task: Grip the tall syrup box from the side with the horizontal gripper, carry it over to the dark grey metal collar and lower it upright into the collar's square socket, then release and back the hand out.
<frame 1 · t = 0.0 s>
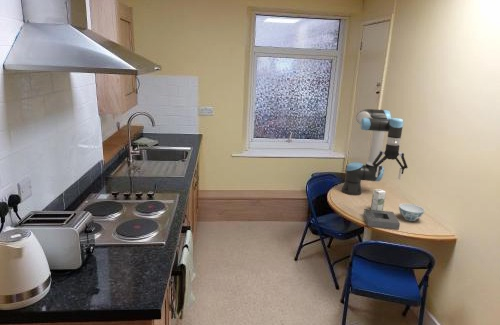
hand: (387, 177, 213), 28 cm above the table, tool pointing down, fingers open, 13 cm apart
chinaware: (409, 219, 224), on the table
syrup box: (376, 210, 235), on the table
collar: (380, 221, 217), on the table
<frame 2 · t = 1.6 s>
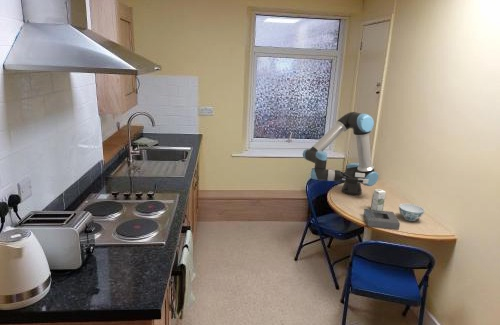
hand: (366, 178, 231), 22 cm above the table, tool horizontal, fingers open, 13 cm apart
nothing on the table moved.
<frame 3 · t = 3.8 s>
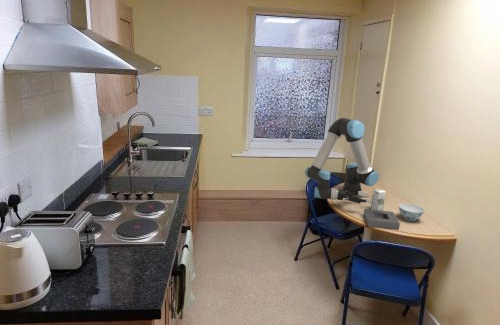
hand: (369, 197, 233), 9 cm above the table, tool horizontal, fingers open, 13 cm apart
nothing on the table moved.
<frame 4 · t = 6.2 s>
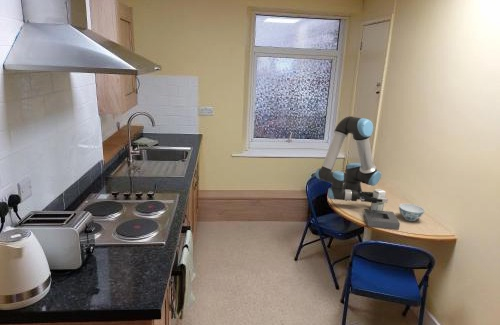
hand: (386, 198, 232), 9 cm above the table, tool horizontal, fingers closed on syrup box, 7 cm apart
syrup box: (376, 210, 235), on the table, touching gripper
everything else where it was.
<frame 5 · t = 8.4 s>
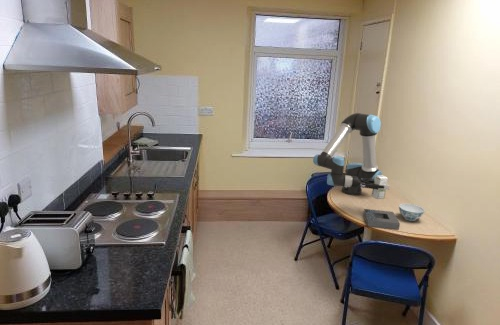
hand: (388, 185, 221), 21 cm above the table, tool horizontal, fingers closed on syrup box, 7 cm apart
syrup box: (377, 198, 225), point 12 cm above the table, touching gripper
everything else where it was.
when the fingers open (10 cm above the table, at t = 10.9 s): syrup box drops 1 cm, resting in collar.
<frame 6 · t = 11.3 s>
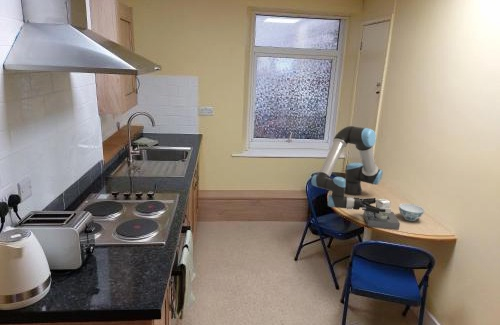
hand: (388, 206, 214), 10 cm above the table, tool horizontal, fingers open, 13 cm apart
syrup box: (380, 222, 217), resting in collar
everything else where it was.
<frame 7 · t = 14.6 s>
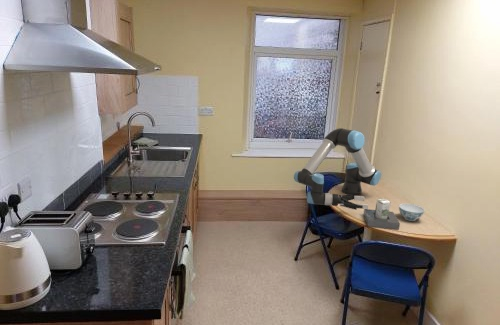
hand: (366, 202, 216), 12 cm above the table, tool horizontal, fingers open, 13 cm apart
nothing on the table moved.
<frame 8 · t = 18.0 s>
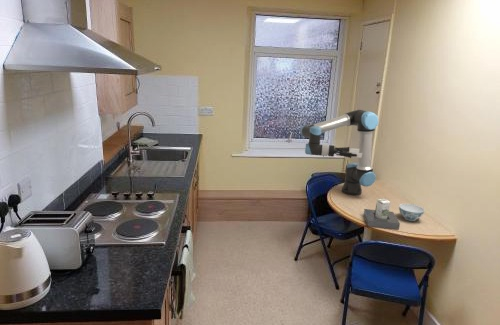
hand: (360, 153, 231), 38 cm above the table, tool horizontal, fingers open, 13 cm apart
nothing on the table moved.
at the end: syrup box 0.2 cm off-centre on the collar, point 0.0 cm above the collar's base; syrup box tilted 0°; the gripper is holding nothing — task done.
